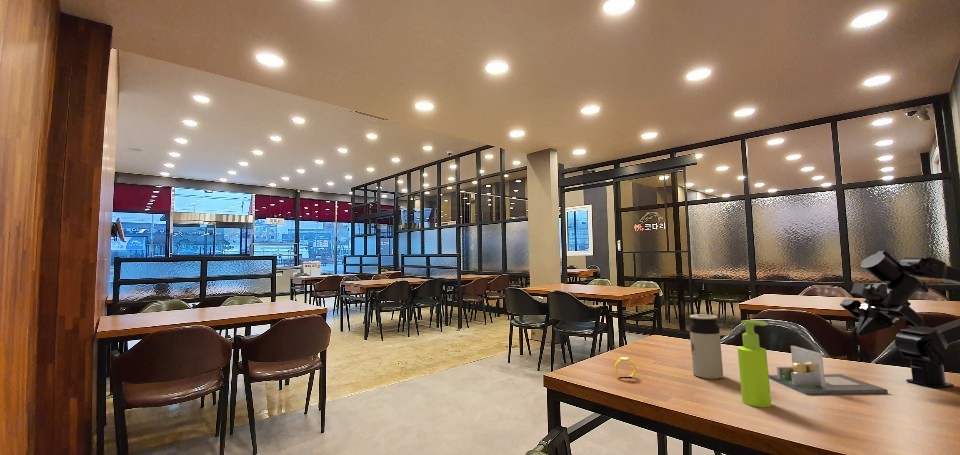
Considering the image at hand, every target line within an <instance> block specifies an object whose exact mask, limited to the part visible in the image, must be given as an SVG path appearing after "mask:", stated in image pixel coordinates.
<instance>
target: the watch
mask: <svg viewBox="0 0 960 455" xmlns="http://www.w3.org/2000/svg"><path fill="white" fill-rule="evenodd" d="M621 362H625V363H626V362H630V363H631V364H632V366H633V371H632V373H631V374H630V375H629V376H631V377H632V378H633V377H635V376H636V373H637V368H636V365H635V364H634V362H633V361H632V360H631V359H630V358H629V357H627V356H626V357H625V356H623V357H622V356H621V357H619V359H618V360H616V361H615V364H614V371H615V373H616V375H617V376H618V377H619V376H620V375H621V374H619V372H618V370H617V368H618V364H620V363H621Z"/></svg>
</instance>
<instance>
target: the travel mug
mask: <svg viewBox="0 0 960 455" xmlns="http://www.w3.org/2000/svg"><path fill="white" fill-rule="evenodd" d="M689 318H690V321H691V322H690V325H689V335H690V336H689V337H690V348H691V350H690V351H691V361H692V362H691V363H692V374H693V375H694V376H696V377H697V376H698V377H697V378H700V377H702V378H701V379H705V378H708V379H707V380H719V378H720V379H722V378H724V368H723V357H722V356H723V355H722V346H721V333H720V326H719V325H718V323H717V320H718V316H717V315H715V314H704V313H703V314H701V313H700V314H697V313H696V314H695V313H694V314H691V315H689Z"/></svg>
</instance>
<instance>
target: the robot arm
mask: <svg viewBox="0 0 960 455" xmlns="http://www.w3.org/2000/svg"><path fill="white" fill-rule="evenodd" d="M860 267H861V268H863V269H864V270H865V271H866V272H868V273H869V274H870V275H871V276H872V277H873V278H875V279H876V280H877V281H879V282H886V283H885V284H883V283H877V282H875V283H874V284H869V283H868V284H867V283H858V282H855V283H853V285H852V288H851V290H850V295H852V296H856V297H859V298H860V299H861V298H862V302H864V303H862V302H861V301H860V300H858V299H847V298H846V299H843V300H842V301H841V302H840V304H839V306H841V307H842V308H843V309H844V310H845V311H847V312H848V313H849V314H850V315H851V316H852V317H853V318H856V319H858V323H857V324H858V325H857V327H856V332H855V334H856V335H857V336H859V337H860V336H861V337H863V336H866V335H868V334H872V333H874V332H878V331H881V330H885V329H888V328H891V327H894V328H895V327H896V326H897V324H896V323H895V322H897V321H899V320H900V319H903V320H906V321H905V324H906V326H907V328H903V329H899V330H900V332H898V333H897V334H895V338H894V344H895V347H896V348H897V349H898V351H899V354H900V356H901V357H902V358H907V359H910V370H911V378H908V379H905V381H906V382H907V383H912V384H915V385H920V386H925V387H930V388H934V389H940V388H947V387H948V388H949V387H954V386H955V385H954V383H950V382H946V376H945V375H946V374H945V368H944V367H945V366H949V365H953V364H954V361H955V356H954V355H953V354H952V353H951V352H949V351H948V350H947V349H948V347H949V345H951V344H954V343H956V342H959V341H960V318H958V319H955V320H952V321H948V322H946V323H943V324H940V325H937V326H935V327H928V326H923V324H924V317H923V316H921V315H920V314H919V313H918V312H917V311H915V309H913V308H912V307H911V305H912V303H911V302H910V301H909V300H910V299H911V298H912V297H913V296H914V295H915V293H929V292H930V291H929V288H928V287H927V283H926V282H925V281H920V280H919V279H925V280H926V279H928V280H929V279H930V280H938V281H942V282H947V283H950V284H954V285H959V286H960V268H959V267H958V268H957V267H953V266H950V265H948V263H946V262H944V261H942V260H940V259H937V258H935V257H932V256H931V257H930V256H910V257H909V256H906V257H903V258H902V259H901V260H900V261H898V260H896V259H895V258H894V257H893V256H891V254H890V253H889V252H888V251H886V250H878V251H877V252H876V253H873V254H871V255H869V256H868V257H866V258H864V259H863V260H862V261H861V263H860Z"/></svg>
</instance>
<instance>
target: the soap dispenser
mask: <svg viewBox="0 0 960 455" xmlns="http://www.w3.org/2000/svg"><path fill="white" fill-rule="evenodd" d="M740 323H741V324H744V325H745V332H743V333H742V334H741V335H742V336H741V337H742V346H737V356H738V367H739V368H738V369H739V379H740V392H741V401H742V403H743V404H745V405H748V406H752V407H755V408H756V407H757V408H770V407H771V406H772V399H771V389H770V379H769V375H770V374H769V367H768V366H769V365H768V354H767V348H763V347H761V346H760V336H759V334H758V333H756V332H755V326H754V325H758V326H761V327H765V326H768V325H769V323H767V322H765V321H761V320H753V319H752V320H751V319H750V320H749V319H745V320H741V322H740Z"/></svg>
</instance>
